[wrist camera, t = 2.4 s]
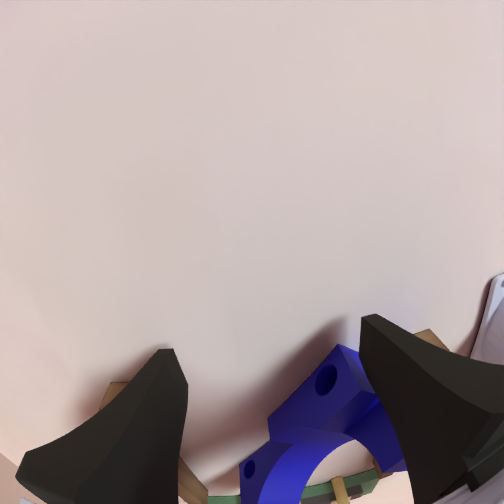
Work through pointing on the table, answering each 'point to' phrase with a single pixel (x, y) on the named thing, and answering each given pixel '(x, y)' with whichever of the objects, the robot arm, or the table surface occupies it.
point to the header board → (325, 490)
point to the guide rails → (188, 482)
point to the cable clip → (319, 431)
